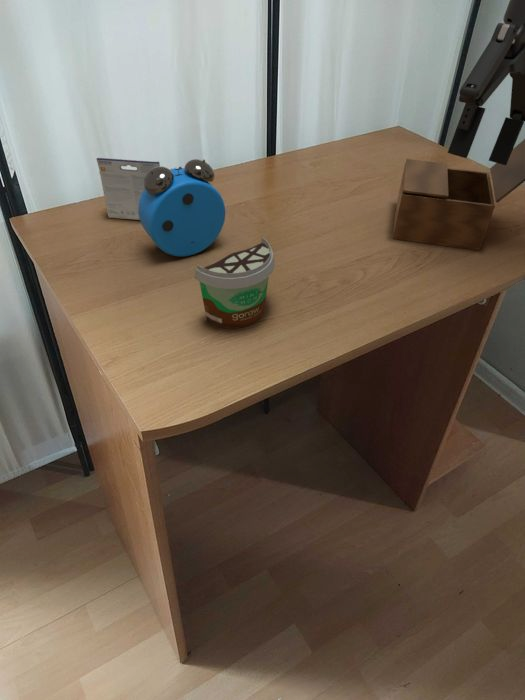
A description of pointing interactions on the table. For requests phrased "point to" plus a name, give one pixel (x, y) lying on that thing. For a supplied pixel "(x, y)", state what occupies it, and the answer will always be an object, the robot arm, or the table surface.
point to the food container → (237, 286)
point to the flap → (509, 173)
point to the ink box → (123, 185)
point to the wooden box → (443, 205)
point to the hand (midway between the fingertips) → (478, 159)
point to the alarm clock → (182, 208)
